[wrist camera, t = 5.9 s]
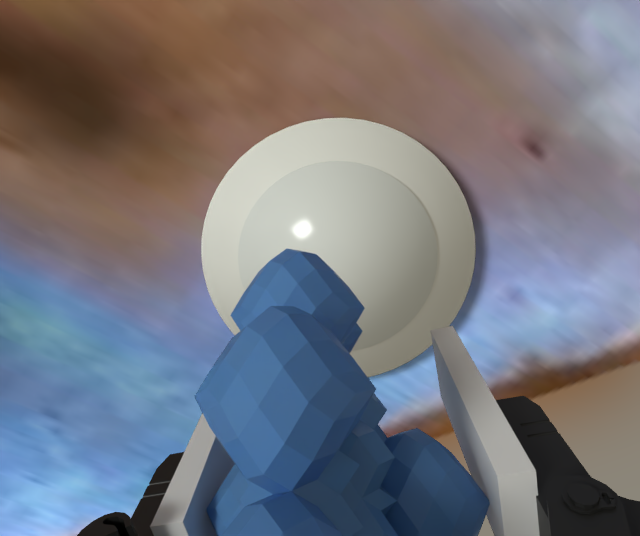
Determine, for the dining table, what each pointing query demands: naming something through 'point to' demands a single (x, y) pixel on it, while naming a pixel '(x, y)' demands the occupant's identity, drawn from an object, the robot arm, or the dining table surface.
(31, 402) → the dining table surface
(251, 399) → the grapes
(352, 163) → the plate
